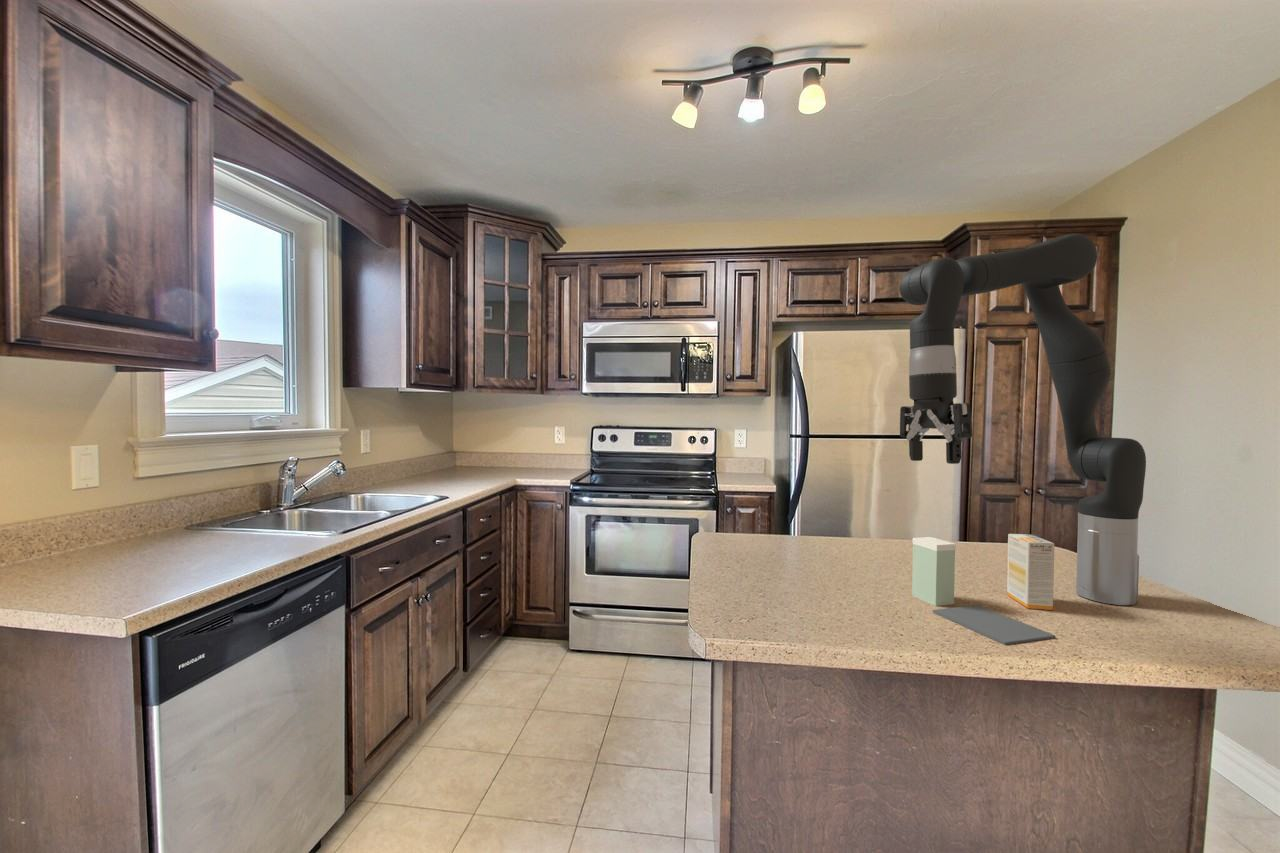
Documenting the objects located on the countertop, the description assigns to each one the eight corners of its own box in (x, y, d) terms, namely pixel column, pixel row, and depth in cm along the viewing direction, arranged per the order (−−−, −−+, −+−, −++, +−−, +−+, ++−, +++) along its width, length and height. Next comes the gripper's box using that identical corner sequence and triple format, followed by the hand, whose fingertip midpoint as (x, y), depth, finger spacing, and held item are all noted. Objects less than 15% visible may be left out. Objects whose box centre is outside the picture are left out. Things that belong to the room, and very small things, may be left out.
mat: (978, 606, 101) (978, 604, 101) (1055, 637, 87) (1055, 635, 87) (932, 612, 98) (932, 610, 98) (1004, 644, 84) (1004, 642, 84)
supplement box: (1054, 611, 100) (1056, 543, 99) (1026, 608, 101) (1028, 541, 100) (1031, 596, 108) (1033, 533, 107) (1005, 594, 109) (1007, 532, 108)
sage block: (929, 593, 109) (930, 536, 108) (954, 604, 103) (955, 543, 102) (911, 595, 107) (912, 538, 107) (935, 606, 102) (936, 545, 101)
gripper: (983, 368, 88) (985, 464, 88) (920, 376, 102) (921, 459, 102) (946, 368, 86) (948, 465, 86) (887, 376, 100) (888, 460, 100)
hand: (934, 462), depth 94 cm, fingers open, 8 cm apart
